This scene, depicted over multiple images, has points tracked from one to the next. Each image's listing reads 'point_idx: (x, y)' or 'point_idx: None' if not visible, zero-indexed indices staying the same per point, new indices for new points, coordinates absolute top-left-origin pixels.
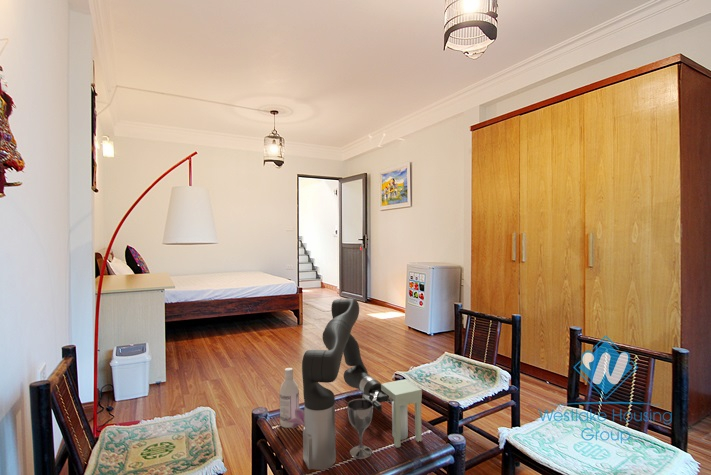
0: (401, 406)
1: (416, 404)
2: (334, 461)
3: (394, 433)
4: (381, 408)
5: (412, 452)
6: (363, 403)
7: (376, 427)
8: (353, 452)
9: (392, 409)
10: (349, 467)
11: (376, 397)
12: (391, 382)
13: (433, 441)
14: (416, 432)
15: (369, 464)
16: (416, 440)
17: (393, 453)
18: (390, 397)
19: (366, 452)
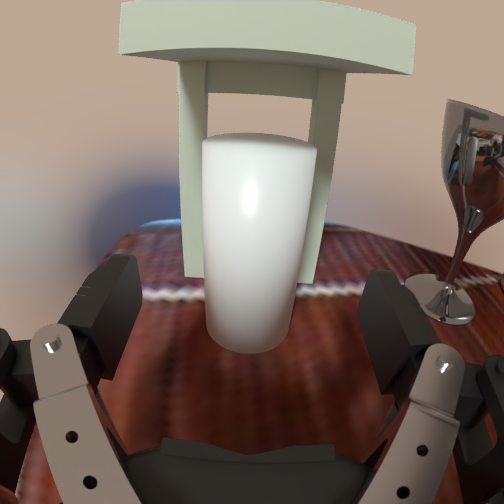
0: (271, 135)
1: (206, 105)
2: (502, 278)
3: (321, 234)
4: (365, 290)
5: None
6: (497, 139)
7: (346, 438)
8: (465, 293)
9: (311, 186)
10: (462, 262)
11: (413, 398)
12: (306, 2)
13: (153, 251)
14: None
15: (414, 253)
16: None
17: (332, 259)
18: (114, 437)
19: (425, 279)
